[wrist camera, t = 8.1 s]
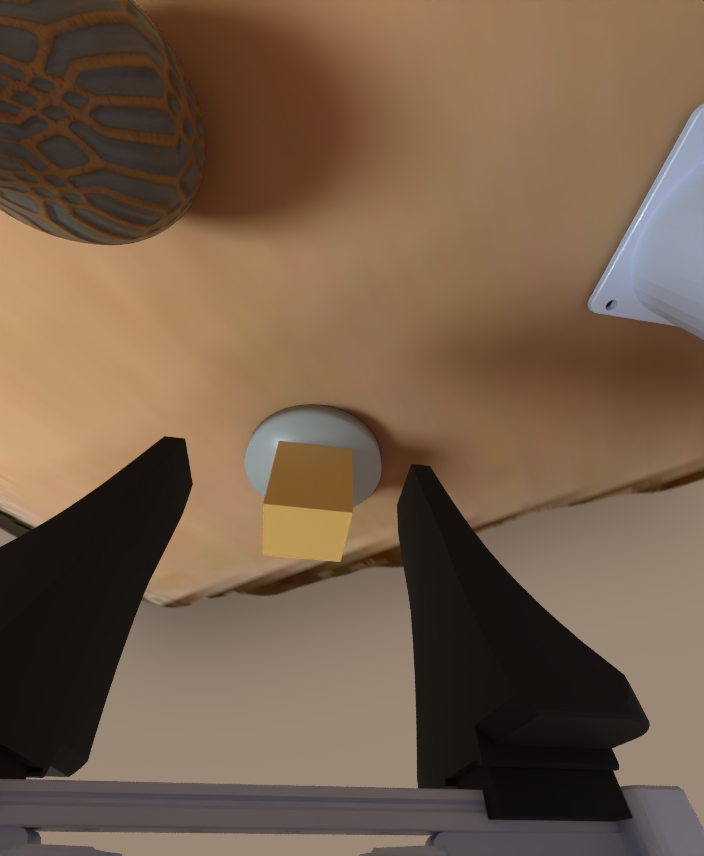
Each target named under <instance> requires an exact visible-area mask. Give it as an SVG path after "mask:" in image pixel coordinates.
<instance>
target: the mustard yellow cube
mask: <svg viewBox="0 0 704 856" xmlns="http://www.w3.org/2000/svg"><path fill="white" fill-rule="evenodd" d="M352 514H353V474H352V449H345V448H337V447H328V446H320V445H311V444H303V443H294V442H286V441H279V442H278V446H277V450H276V454H275V458H274V462H273V466H272V470H271V474H270V478H269V482H268V486H267V491H266V495H265V499H264V503H263V555H267V556H278V557H290V558H301V559H313V560H324V561H336V562H341V558H342V554H343V550H344V546H345V542H346V538H347V534H348V530H349V526H350V522H351V518H352Z"/></svg>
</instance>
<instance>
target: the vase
mask: <svg viewBox="0 0 704 856" xmlns="http://www.w3.org/2000/svg"><path fill="white" fill-rule="evenodd" d="M204 164H205V137H204V129H203V123H202V119H201V114H200V110H199V107H198V103H197V100H196V97H195V94H194V91H193V89H192V86H191V84H190V82H189V79H188V77H187V75H186V73H185V71H184V69H183V67H182V65H181V63H180V61H179V60H178V58H177V56H176V55H175V53H174V51H173V50H172V48H171V47H170V45H169V43H168V42H167V41H166V39H165V38H164V36H163V35H162V33H161V32H160V31H159V29H158V28H157V27H156V25H155V24H154V23H153V22H152V20H151V19H150V18H149V17H148V16H147V15H146V13H145V12H144V11H143V10H142V9H141V8H140V7H139V6H138V5H137V4H136V3H135V2H134V1H133V0H0V210H2V211H3V212H5V213H6V214H8V215H10V216H12V217H13V218H15V219H17V220H19V221H21V222H22V223H24V224H26V225H28V226H30V227H33V228H35V229H37V230H40V231H42V232H45V233H48V234H50V235H53V236H56V237H60V238H64V239H68V240H71V241H76V242H82V243H88V244H96V245H122V244H130V243H135V242H139V241H142V240H145V239H148V238H151V237H153V236H155V235H157V234H159V233H161V232H163V231H164V230H166V229H168V228H169V227H170V226H172V225H173V224H174V223H175V222H177V221H178V220H179V219H180V218H181V217H182V216H183V215H184V214H185V212H186V211H187V210H188V208H189V207H190V206H191V204H192V202H193V200H194V198H195V196H196V194H197V192H198V190H199V187H200V184H201V180H202V176H203V171H204Z"/></svg>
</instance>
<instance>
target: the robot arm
mask: <svg viewBox="0 0 704 856" xmlns="http://www.w3.org/2000/svg"><path fill="white" fill-rule="evenodd" d="M611 300H613V301H612V304H611V305H610V306H608V307H606V304H607V303H608V302H609V301H611ZM588 308H589V310H591V311H592V312H594V313H598V314H604V315H610V316H616V317H622V318H628V319H635V320H641V321H647V322H653V323H659V324H666V325H672V326H678V327H680V328H682V329H684V330H686V331H688V332H689V333H691V334H693V335H695V336H697V337H699V338H700V339H702V340H704V103H703V104H701V105H700V106H699V107H698V108H697V109H695V111H694V112H693V113H692V115H691V116H690V118H689V120H688V122H687V124H686V125H685V127H684V129H683V131H682V133H681V134H680V136H679V138H678V140H677V142H676V143H675V145H674V147H673V149H672V151H671V152H670V154H669V156H668V158H667V160H666V162H665V163H664V165H663V167H662V169H661V171H660V172H659V174H658V176H657V178H656V180H655V181H654V183H653V185H652V187H651V189H650V190H649V192H648V194H647V196H646V198H645V199H644V201H643V203H642V205H641V207H640V208H639V210H638V212H637V214H636V216H635V218H634V219H633V221H632V223H631V225H630V227H629V228H628V230H627V232H626V234H625V236H624V237H623V239H622V241H621V243H620V245H619V246H618V248H617V250H616V252H615V254H614V255H613V257H612V259H611V261H610V263H609V264H608V266H607V268H606V270H605V272H604V274H603V275H602V277H601V279H600V281H599V283H598V284H597V286H596V288H595V290H594V292H593V293H592V295H591V297H590V299H589V301H588ZM192 485H193V483H192V477H191V471H190V465H189V459H188V454H187V448H186V442H185V439H183V438H174V437H166V436H165V437H163V438H162V439H161V440H159V441H158V442H157V443H155V444H154V445H153V446H151V447H150V448H149V449H148V450H146V451H145V452H144V453H142V454H141V455H140V456H139V457H137V458H136V459H135V460H134V461H132V462H131V463H130V464H128V465H127V466H126V467H125V468H123V469H122V470H121V471H119V472H118V473H117V474H115V475H114V476H113V477H111V478H110V479H109V480H107V481H106V482H105V483H103V484H102V485H100V486H99V487H98V488H96V489H95V490H93V491H92V492H90V493H89V494H88V495H86V496H85V497H83V498H82V499H80V500H79V501H77V502H76V503H75V504H73V505H72V506H70V507H69V508H67V509H65V510H64V511H62V512H61V513H59V514H58V515H56V516H54V517H53V518H51V519H49V520H48V521H46V522H44V523H43V524H41V525H39V526H38V527H36V528H34V529H33V530H31V531H29V532H27V533H26V534H24V535H22V536H20V537H18V538H17V539H15V540H13V541H11V542H9V543H7V544H5V545H3V546H1V547H0V856H122V854H118V853H110V852H104V851H100V850H95V849H94V848H93V847H87V846H66V845H45V844H41V837H40V835H39V833H38V832H35V831H59V832H155V833H249V834H250V833H251V834H255V833H256V834H347V835H356V834H357V835H432V836H430V837H429V838H428V840H427V841H426V844H425V846H408V847H387V848H386V847H385V848H373V850H372V852H371V853H366V854H360V855H359V856H704V829H703V827H702V825H701V823H700V821H699V819H698V817H697V815H696V813H695V812H694V810H693V808H692V806H691V804H690V802H689V800H688V798H687V796H686V794H685V792H684V791H683V790H682V789H681V788H680V787H678V786H645V785H633V786H632V785H631V786H622V787H620V786H619V784H618V782H617V779H616V777H615V775H614V772H613V771H614V770H615V771H616V770H619V764H618V761H617V759H616V757H615V754H614V752H613V750H612V748H614V747H616V746H619V745H621V744H624V743H626V742H629V741H631V740H633V739H636V738H638V737H640V736H642V735H644V734H645V733H646V732H647V731H648V729H649V720H648V719H647V717H646V715H645V713H644V711H643V709H642V707H641V705H640V703H639V701H638V699H637V697H636V695H635V694H634V692H633V690H632V688H631V686H630V684H629V682H628V681H627V679H626V677H625V675H624V674H622V673H621V672H620V671H618V670H617V669H616V668H615V667H613V666H612V665H611V664H610V663H608V662H607V661H606V660H605V659H603V658H602V657H601V656H599V655H598V654H597V653H595V652H594V651H593V650H592V649H591V648H589V647H588V646H587V645H586V644H584V643H583V642H582V641H581V640H579V639H578V638H577V637H576V636H575V635H574V634H573V633H571V632H570V631H569V630H568V629H567V628H566V627H564V626H563V625H562V624H561V623H560V622H559V621H557V620H556V619H555V618H554V617H553V616H552V615H551V614H550V613H549V612H547V610H545V609H544V608H543V607H542V606H541V605H540V604H539V603H538V602H537V601H536V600H535V599H534V598H533V597H532V596H531V595H530V594H529V593H528V592H527V591H526V590H525V589H524V588H523V587H522V586H521V585H520V584H519V583H518V582H517V581H516V580H515V579H514V578H513V577H512V576H511V575H510V574H509V573H508V572H507V570H506V569H505V568H504V567H503V566H502V565H501V564H500V563H499V562H498V560H496V558H495V557H494V556H493V555H492V554H491V552H490V551H489V550H488V549H487V548H486V546H485V545H484V544H483V543H482V541H481V540H480V539H479V537H478V536H477V535H476V534H475V532H474V531H473V530H472V528H471V527H470V525H469V524H468V523H467V521H466V520H465V518H464V517H463V516H462V514H461V513H460V511H459V510H458V509H457V507H456V506H455V504H454V503H453V501H452V500H451V498H450V497H449V495H448V494H447V492H446V491H445V489H444V487H443V486H442V484H441V483H440V481H439V480H438V478H437V477H436V475H435V473H434V472H433V470H432V469H431V467H430V466H424V465H415V464H411V467H410V470H409V473H408V476H407V479H406V481H405V484H404V487H403V490H402V493H401V496H400V498H399V501H398V504H397V513H398V534H399V541H400V547H401V553H402V559H403V565H404V571H405V576H406V583H407V588H408V595H409V601H410V609H411V619H412V634H413V649H414V667H415V688H416V689H415V691H416V724H417V781H418V788H416V789H415V788H374V787H333V786H289V785H246V784H203V783H160V782H117V781H114V782H113V781H72V780H71V781H70V780H29V779H26V777H36V778H37V777H38V778H43V777H44V776H56V777H69V776H71V775H72V774H74V773H75V772H76V771H78V770H79V769H80V768H81V767H82V766H83V765H84V764H85V763H86V762H87V761H88V758H89V754H90V751H91V748H92V744H93V741H94V738H95V734H96V731H97V728H98V724H99V721H100V718H101V715H102V711H103V708H104V705H105V702H106V698H107V695H108V692H109V690H110V687H111V684H112V681H113V678H114V675H115V672H116V668H117V665H118V662H119V660H120V657H121V654H122V651H123V648H124V646H125V643H126V640H127V637H128V634H129V631H130V629H131V626H132V623H133V621H134V618H135V615H136V613H137V610H138V607H139V605H140V602H141V600H142V597H143V594H144V592H145V590H146V588H147V585H148V583H149V581H150V579H151V577H152V575H153V573H154V571H155V569H156V567H157V565H158V563H159V561H160V559H161V557H162V555H163V553H164V551H165V549H166V547H167V545H168V543H169V541H170V539H171V537H172V535H173V533H174V531H175V528H176V526H177V524H178V522H179V520H180V518H181V516H182V514H183V511H184V509H185V506H186V503H187V500H188V497H189V494H190V491H191V488H192Z"/></svg>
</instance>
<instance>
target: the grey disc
mask: <svg viewBox="0 0 704 856" xmlns="http://www.w3.org/2000/svg"><path fill="white" fill-rule="evenodd" d="M279 441H286V442H294V443H303V444H311V445H320V446H328V447H337V448H345V449H352V474H353V507H355V506H356V505H358V504H360V503H361V502H363V501H364V500H366V499H367V498H368V497H369V496H370V495H371V494H372V493H373V491H374V490H375V489H376V487H377V485H378V483H379V480H380V477H381V469H382V465H381V455H380V449H379V445H378V442H377V440H376V438H375V436H374V434H373V433H372V432H371V430H370V429H369V428H368V427H367V426H366V425H365V424H364V423H363V422H361V421H360V420H359V419H357V418H356V417H354V416H352V415H351V414H349V413H347V412H344V411H342V410H339V409H336V408H332V407H328V406H322V405H300V406H293V407H289V408H286V409H283V410H280V411H278V412H276V413H274V414H272V415H270V416H269V417H267V418H266V419H265V420H263V421H262V422H261V423H260V424H259V426H258V427H257V428H256V429H255V431H254V432H253V435H252V437H251V439H250V442H249V445H248V448H247V451H246V455H245V471H246V474H247V477H248V479H249V481H250V483H251V484H252V486H253V487H254V488H255V490H256V491H257V492H258V493H259V494H260V495H261V496H263V497H264V498H265V495H266V491H267V486H268V482H269V478H270V474H271V470H272V466H273V462H274V458H275V454H276V450H277V446H278V442H279Z"/></svg>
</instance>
